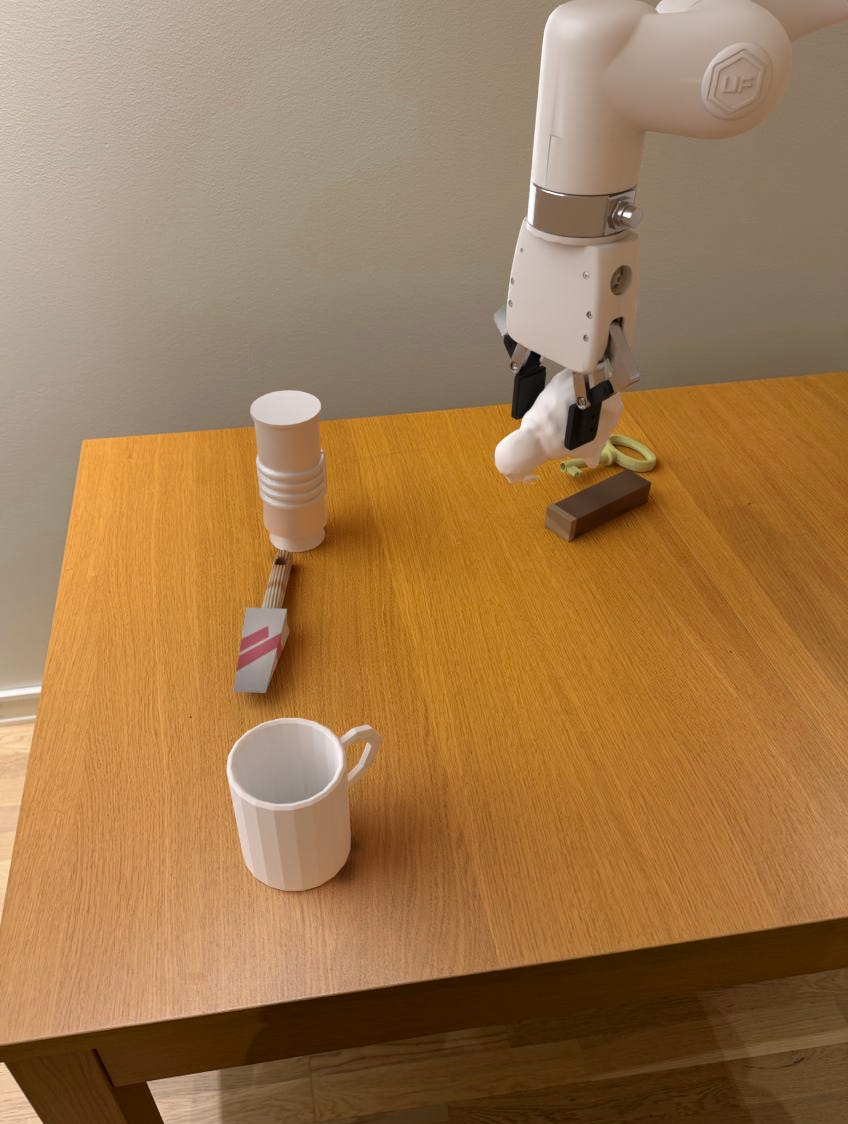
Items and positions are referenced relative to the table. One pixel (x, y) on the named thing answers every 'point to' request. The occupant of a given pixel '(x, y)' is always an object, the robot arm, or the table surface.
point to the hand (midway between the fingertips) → (552, 426)
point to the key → (615, 457)
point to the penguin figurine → (553, 431)
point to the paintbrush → (264, 631)
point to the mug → (295, 799)
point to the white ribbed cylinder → (291, 469)
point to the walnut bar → (597, 504)
